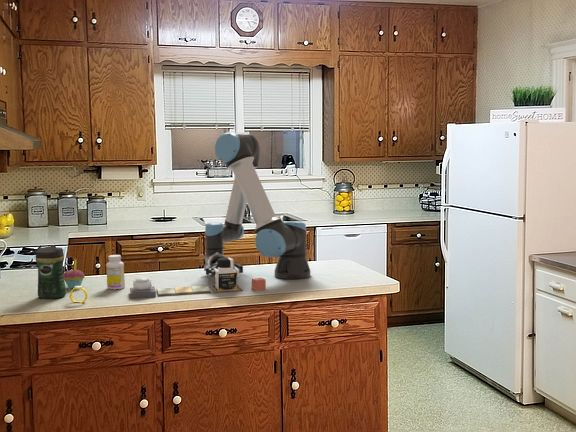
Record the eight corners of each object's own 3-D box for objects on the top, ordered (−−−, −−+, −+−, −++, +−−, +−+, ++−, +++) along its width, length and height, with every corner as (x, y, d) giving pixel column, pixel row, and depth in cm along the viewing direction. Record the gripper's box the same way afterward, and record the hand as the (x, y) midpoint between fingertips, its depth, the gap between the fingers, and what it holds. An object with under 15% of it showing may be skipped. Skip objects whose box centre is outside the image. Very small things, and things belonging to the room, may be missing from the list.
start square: (237, 285, 263) (237, 284, 263) (242, 290, 253) (242, 289, 253) (210, 286, 260) (210, 285, 260) (214, 292, 250) (214, 291, 250)
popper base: (154, 291, 253) (154, 285, 253) (155, 296, 244) (155, 290, 244) (130, 293, 251) (129, 287, 250) (130, 298, 242) (130, 292, 242)
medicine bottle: (218, 291, 252) (217, 260, 251) (215, 287, 259) (214, 257, 257) (237, 290, 254) (236, 259, 253) (233, 286, 261) (232, 256, 259)
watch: (88, 302, 238) (88, 286, 237) (85, 304, 235) (86, 287, 235) (71, 301, 238) (72, 285, 238) (68, 303, 236) (69, 286, 235)
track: (207, 287, 260) (207, 285, 259) (211, 292, 250) (211, 290, 250) (156, 290, 254) (156, 288, 254) (158, 296, 245) (158, 294, 245)
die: (261, 287, 258) (260, 277, 258) (265, 289, 255) (265, 279, 254) (251, 288, 256) (251, 278, 256) (256, 290, 253) (256, 280, 252)
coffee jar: (69, 294, 249) (67, 245, 247) (59, 299, 241) (57, 249, 239) (44, 294, 250) (42, 245, 248) (34, 299, 242) (31, 248, 240)
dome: (151, 285, 251) (150, 276, 251) (152, 289, 245) (151, 280, 244) (133, 286, 249) (132, 277, 249) (133, 290, 243) (133, 281, 243)
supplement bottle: (115, 285, 264) (114, 253, 262) (128, 287, 261) (127, 254, 259) (103, 289, 258) (102, 256, 256) (116, 290, 255) (115, 257, 253)
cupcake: (89, 286, 262) (88, 256, 261) (72, 290, 255) (71, 260, 254) (74, 284, 267) (73, 254, 265) (57, 288, 260) (56, 258, 258)
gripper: (193, 255, 270) (201, 266, 248) (242, 253, 275) (253, 263, 253) (194, 274, 271) (201, 285, 249) (242, 271, 276) (254, 282, 254)
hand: (228, 274), depth 251 cm, fingers closed on medicine bottle, 7 cm apart
